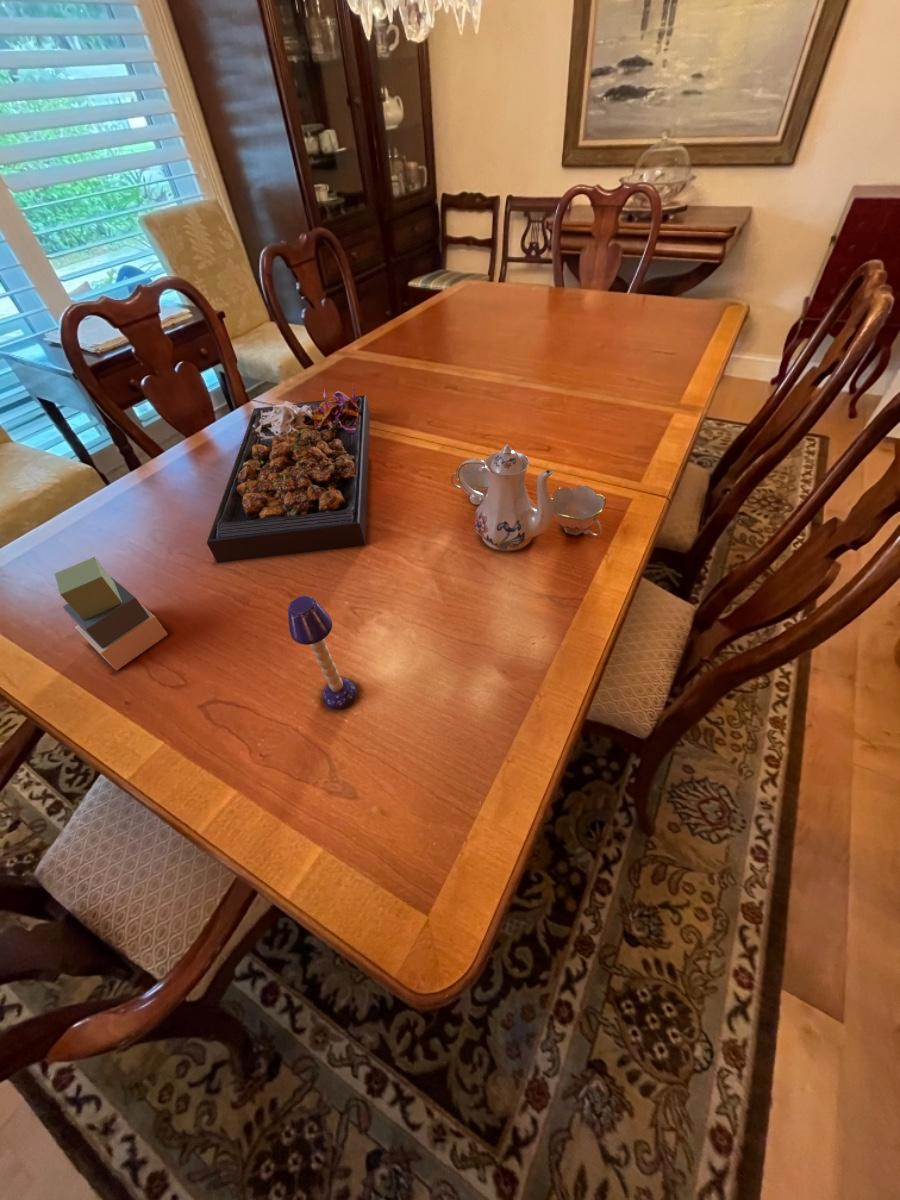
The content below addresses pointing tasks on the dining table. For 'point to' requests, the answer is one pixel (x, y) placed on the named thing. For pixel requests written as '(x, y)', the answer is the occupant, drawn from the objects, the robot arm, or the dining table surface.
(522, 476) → the chinaware
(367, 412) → the food platter
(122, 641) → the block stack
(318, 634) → the toy lamp
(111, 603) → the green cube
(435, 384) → the dining table surface
